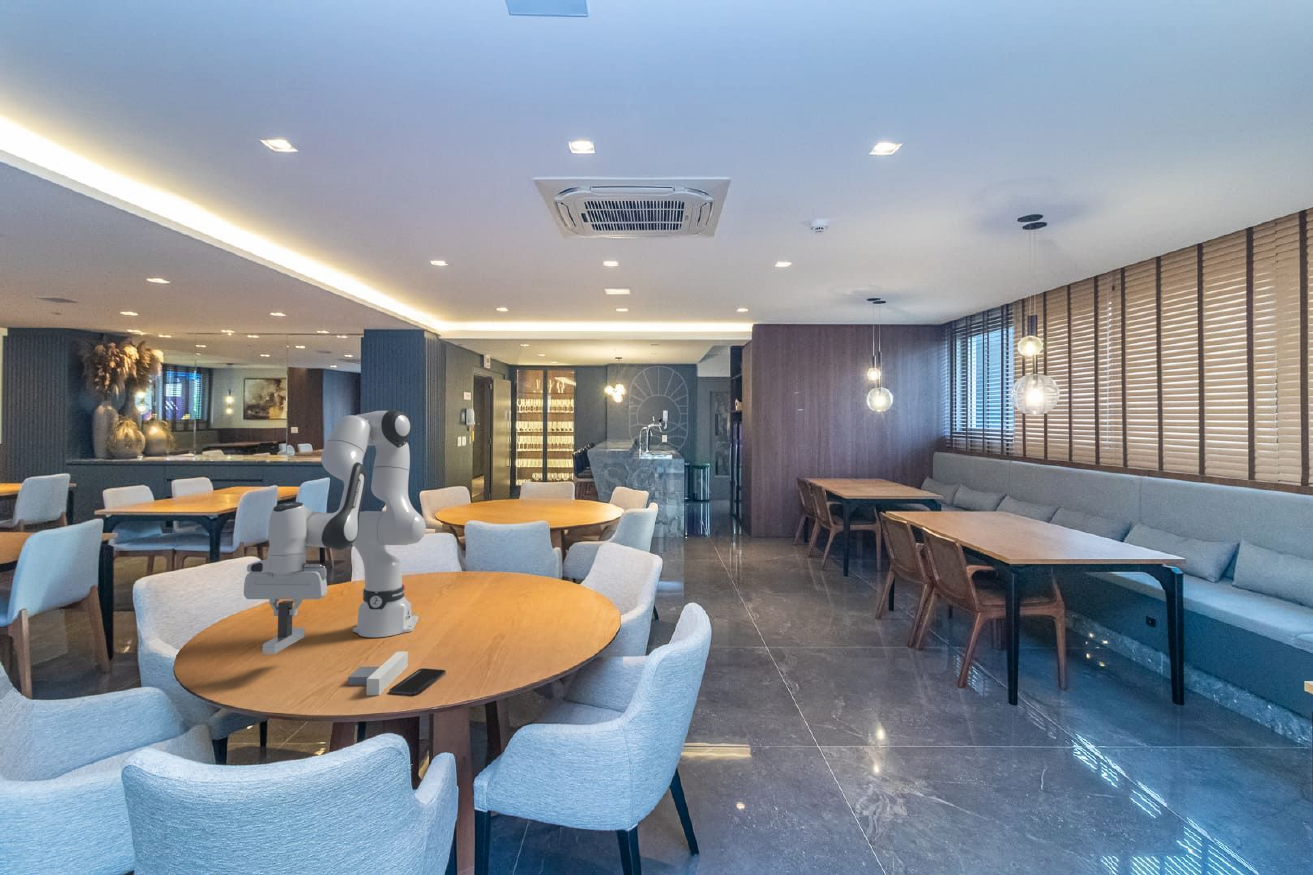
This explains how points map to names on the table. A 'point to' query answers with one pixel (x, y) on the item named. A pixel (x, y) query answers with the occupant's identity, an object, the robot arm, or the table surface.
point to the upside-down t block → (284, 630)
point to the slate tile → (361, 675)
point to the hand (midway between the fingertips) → (285, 615)
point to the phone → (417, 682)
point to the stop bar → (386, 673)
